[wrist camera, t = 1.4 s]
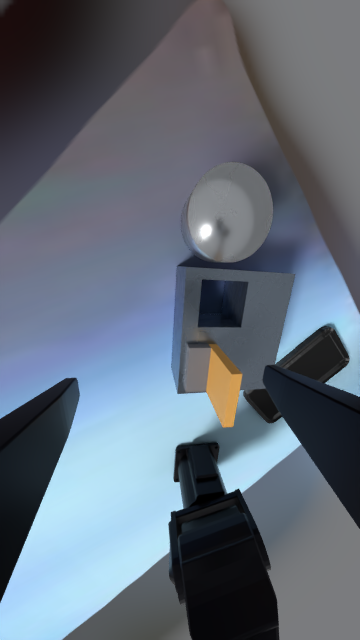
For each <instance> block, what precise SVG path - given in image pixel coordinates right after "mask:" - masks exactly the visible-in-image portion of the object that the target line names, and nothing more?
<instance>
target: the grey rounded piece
mask: <svg viewBox="0 0 360 640" xmlns="http://www.w3.org/2000/svg"><path fill="white" fill-rule="evenodd" d="M272 218H273V201H272V196H271V193H270V190H269V187H268V185H267V183H266V182H265V180H264V178H263V177H262V176H261V175H260V174H259V173H258V172H257V171H256V170H255V169H253V168H252V167H250V166H248V165H246V164H243V163H239V162H227V163H223V164H220V165H218V166H215V167H214V168H212V169H210V170H209V171H208V172H207V173H206V174H205V175H204V176H203V177H202V178H201V179H200V181H199V182H198V183H197V185H196V186H195V188H194V190H193V191H192V193H191V194H190V196H189V198H188V199H187V201H186V203H185V205H184V208H183V211H182V215H181V232H182V236H183V239H184V242H185V243H186V245H187V247H188V248H189V250H190V251H191V252H192V253H193V254H194V255H195V256H196V257H198V258H199V259H201V260H204V261H207V262H212V263H222V262H237V261H240V260H243V259H245V258H247V257H249V256H251V255H252V254H253V253H254V252H256V251H257V250H258V249H259V248H260V246H261V245H262V244H263V242H264V241H265V239H266V237H267V235H268V233H269V230H270V227H271V224H272Z"/></svg>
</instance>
